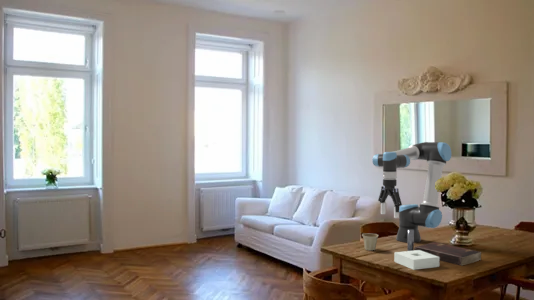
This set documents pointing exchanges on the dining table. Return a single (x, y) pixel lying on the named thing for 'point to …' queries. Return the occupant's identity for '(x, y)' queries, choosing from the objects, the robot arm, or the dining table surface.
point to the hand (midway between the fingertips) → (389, 216)
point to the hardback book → (451, 253)
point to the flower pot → (370, 241)
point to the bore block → (416, 259)
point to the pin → (410, 240)
